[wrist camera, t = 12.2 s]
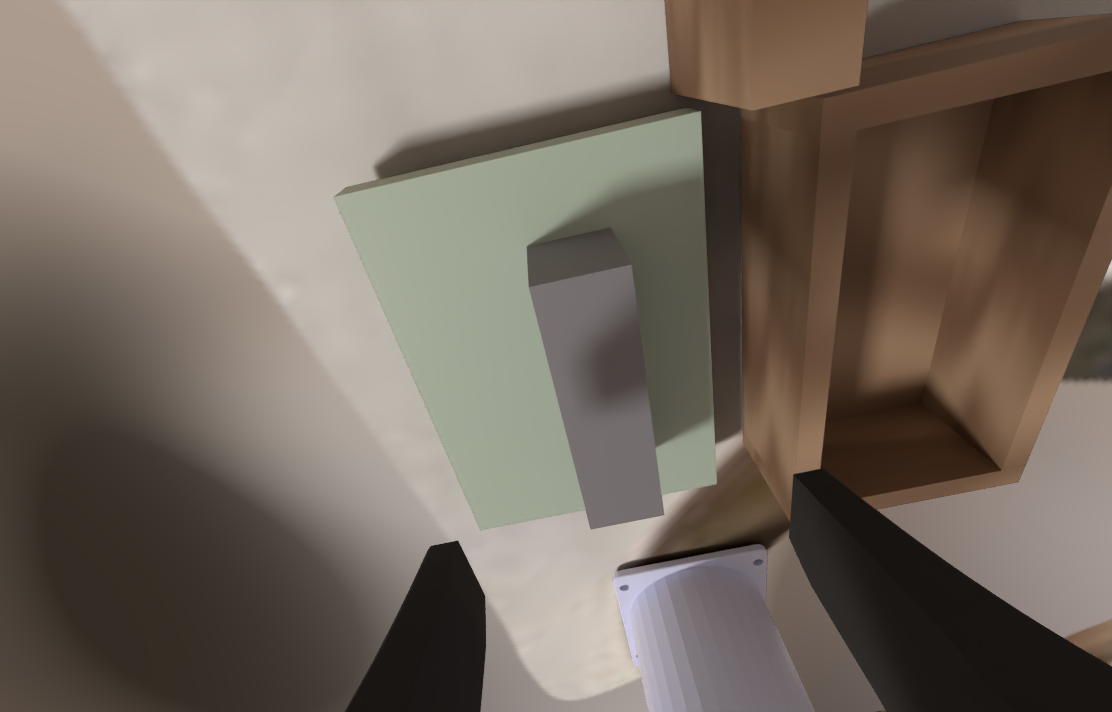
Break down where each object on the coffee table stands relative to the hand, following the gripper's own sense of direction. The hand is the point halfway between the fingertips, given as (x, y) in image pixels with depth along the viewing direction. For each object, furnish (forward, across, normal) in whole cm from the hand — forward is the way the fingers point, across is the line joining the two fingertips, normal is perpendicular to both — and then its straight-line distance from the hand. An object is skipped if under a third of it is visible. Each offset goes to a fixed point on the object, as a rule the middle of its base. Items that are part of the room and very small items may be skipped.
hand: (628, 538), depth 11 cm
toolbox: (+9, -9, -2) cm, 13 cm away
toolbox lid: (+9, 0, 0) cm, 9 cm away
